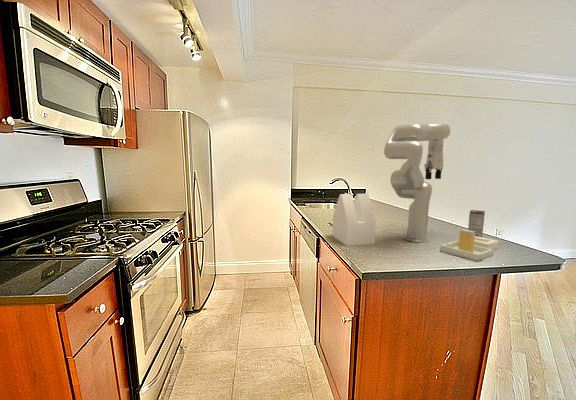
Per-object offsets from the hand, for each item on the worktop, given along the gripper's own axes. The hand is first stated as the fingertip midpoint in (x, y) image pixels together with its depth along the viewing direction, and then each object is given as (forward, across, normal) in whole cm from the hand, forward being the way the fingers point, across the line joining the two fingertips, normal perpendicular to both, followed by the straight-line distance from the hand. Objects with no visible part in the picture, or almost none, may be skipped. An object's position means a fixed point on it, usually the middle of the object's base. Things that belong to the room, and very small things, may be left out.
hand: (433, 178), depth 159 cm
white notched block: (+33, -50, +13) cm, 61 cm away
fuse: (+32, -22, -31) cm, 49 cm away
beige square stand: (+32, -6, -30) cm, 44 cm away
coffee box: (+32, +5, -22) cm, 40 cm away
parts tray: (+32, -22, -31) cm, 50 cm away
